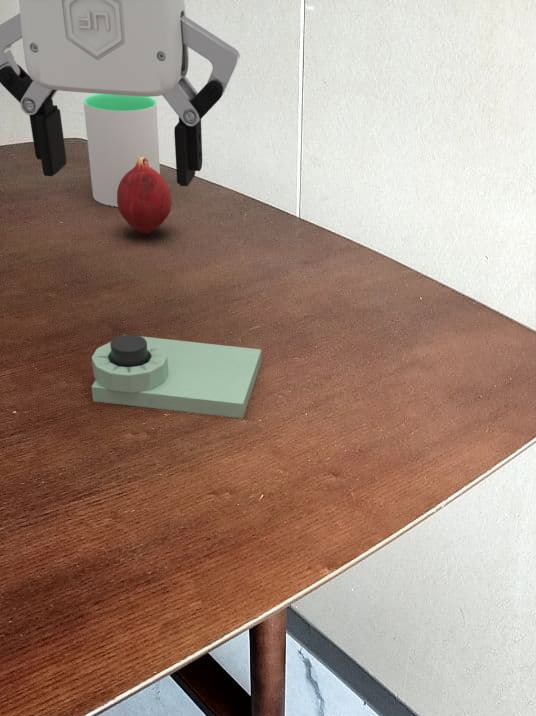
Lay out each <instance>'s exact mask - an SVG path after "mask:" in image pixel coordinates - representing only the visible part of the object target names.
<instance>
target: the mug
mask: <svg viewBox="0 0 536 716" xmlns="http://www.w3.org/2000/svg"><path fill="white" fill-rule="evenodd" d="M157 106H158V105H157V100H156V99H155V98H153V96H149V97H147V96H128V95H113V94H98V93H93V94H91V95H87V96H86V97H84V99H83V111H84V120H85V129H86V130H85V131H86V139H87V148H88V149H87V151H88V160H89V161H88V162H89V170H90V179H91V180H90V182H91V191H92V198H93V200H95V201H96V202H97V203H100V204H102V205H105V206H109V205H110V206H109V207H114V206H115V208H116V207H117V208H118V204H117V191H118V186H119V184H120V181H121V180H122V178H123V177H124V176H125V174H126V173H128V172H129V171H130V170H132V169H133V168H134V167H135V166H136V163H137V160H138V158H140V157H142V156H143V157H145V158H146V159H148V165H149V167H151V168H152V169H154V170H155V171H157V172H158V173H159V174H160V175H161V168H160V149H159V148H160V147H159V127H158V107H157Z"/></svg>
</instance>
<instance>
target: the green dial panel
mask: <svg viewBox="0 0 536 716" xmlns="http://www.w3.org/2000/svg"><path fill="white" fill-rule="evenodd" d="M139 336H140V337H143V338H144V339H145V340H146V342H147V352H148V361H147V363H146V364H144V365H142V366H135V367H120V366H117V365H115V364H113V362H112V356H111V346H110V343H111V341H110V342H108V343H107V342H106V343H105V344H103V345H101V346H99V347H98V348H96V349H95V351H94V353H93V354H92V356H91V364H92V372H93V377H94V379H95V380H94V382H93V383H92V385H91V387H90V388H91V395H92V402H97V403H105V404H115V405H124V406H132V407H141V408H148V409H149V408H150V409H157V410H165V411H167V410H168V411H177V412H185V413H192V414H193V413H195V414H201V415H202V414H203V415H210V416H211V415H212V416H218V417H219V416H220V417H227V418H228V417H229V418H237V419H244V416H245V413H246V411H247V408H248V404H249V401H250V398H251V397H252V396H251V395H252V392H253V389H254V387H255V384H256V380H257V377H258V374H259V371H260V368H261V365H262V349H260V348H251V347H243V346H232V345H223V344H214V343H205V342H195V341H186V340H179V339H178V340H177V339H171V338H170V339H169V338H159V337H149V336H142V335H139Z"/></svg>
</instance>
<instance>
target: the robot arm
mask: <svg viewBox="0 0 536 716" xmlns="http://www.w3.org/2000/svg"><path fill="white" fill-rule="evenodd" d="M18 3H19V13H17V14H16V15H14V16H13V17H11V18H10V19H8V20H6V21H5V22H3V23H1V24H0V84H1V86H2V87H3V88H5V90H6V91H7V92H8V93H9V94H11V95H12V97H14V99H15V100H16V101H17V102H18V103H19V104H20V108H21V110H22V112H23V113H24V114H26V115H28V116H29V122H30V129H31V136H32V142H33V149H34V155H35V157H36V159H37V160H40V161H41V166H42V173H43V176H45V177H53V176H55V175H56V174H57V173H59V171H61V170H62V169H63V168H64V167H65V166H66V165H67V153H66V147H65V146H66V145H65V138H64V129H63V123H62V116H61V115H62V114H61V110H60V108H58V105H54V100H53V99H54V97H55V95H56V94H57V92H58V91H59V92H71V93H73V92H74V93H83V94H84V93H85V94H87V93H88V94H113V95H128V96H147V97H159V96H162V97H163V98H164V99H165V101H167V104H168V105H170V108H172V110H173V111H174V112H175V114H176V115H177V116H178V122H177V123H176V125H175V126H174V130H173V133H174V134H173V135H174V150H175V153H174V154H175V171H176V184H177V185H179V187H188V186H189V185H190V184H191V182H192V181H193V180H194V178H195V176H196V172H201V170H202V167H203V140H202V139H203V138H202V137H203V136H202V135H203V134H202V119H203V118H204V116H206V115H207V113H209V111H211V109H212V108H213V107H214V106H215V104H217V103H218V101H220V100H221V98H222V96H223V95H224V94H225V93H226V91H227V88H228V85H229V84H230V81H231V79H232V77H233V75H234V73H235V71H236V69H237V66H238V65H239V62H240V59H241V56H240V55H241V54H240V52H239V50H237V49H236V48H235V47H234V46H232V45H230V44H229V43H227V42H226V41H224V40H222V39H221V38H220V37H218V36H217V35H216V34H215V35H214V34H213V33H212V32H210V31H209V30H207V29H206V28H204V27H203V26H201V25H199V24H198V23H196V22H195V21H193V20H192V19H190V18H189V17H187V15H186V6H185V5H186V4H185V0H18ZM20 40H22V48H23V55H24V56H23V57H24V62H25V67H26V70H27V72H26V71H25V69H23V68H22V66H21V65H20V64H18V63H17V62H16V60H15V56H14V55H13V53H12V50H11V49H12V45H14V44H15V43H16V42H19V41H20ZM189 49H190V50H191V51H193V52H195V53H197V54H198V55H200V56H201V57H203V58H204V59H206V60H208V61H209V62H210V63H211V65H212V66H211V68H212V69H211V73H210V75H209V77H208V80H207V82H206V84H205V85H204V86H203V87H202V88H201V89H200V90H199V91H197V89H196V88H195V87H194V86H193V85H192V83H191V82H190V80H189V79H188V78H187V74H188V71H189V60H190V59H189V58H190V57H189Z"/></svg>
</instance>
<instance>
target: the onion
mask: <svg viewBox="0 0 536 716" xmlns="http://www.w3.org/2000/svg"><path fill="white" fill-rule="evenodd" d="M117 204H118V207H117V208H118V211H119V214H120V215H121V217H122V218H123V219H124V220H125V221H126V222H127V223H128V225H130V226H131V227H132V228H133V229H135V230H137V231H138V232H140V233H141V234H143V235H149V234H151V233H153V232H154V230H156V229H157V228H159V227H160V226H161V225H163V223H164V222H165V220H166V219H167V218H168V216H169V215H170V213H171V210H172V206H173V205H172V204H173V202H172V194H171V190H170V187H169V185H168V183H167V181H166V180H165V178H164V177H163V175H162V174H161V173H160V174H159V173H158V172H157V171H155V170H154V169H152V168H151V167H149V165H148V159H146V158H145V157H143V156H142V157H140V158H138V160H137V163H136V166H135V167H134V168H133V169H132V170H130V171H129V172H128V173H126V174H125V176H124V177H123V178H122V180H121V181H120V184H119V186H118V191H117Z"/></svg>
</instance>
